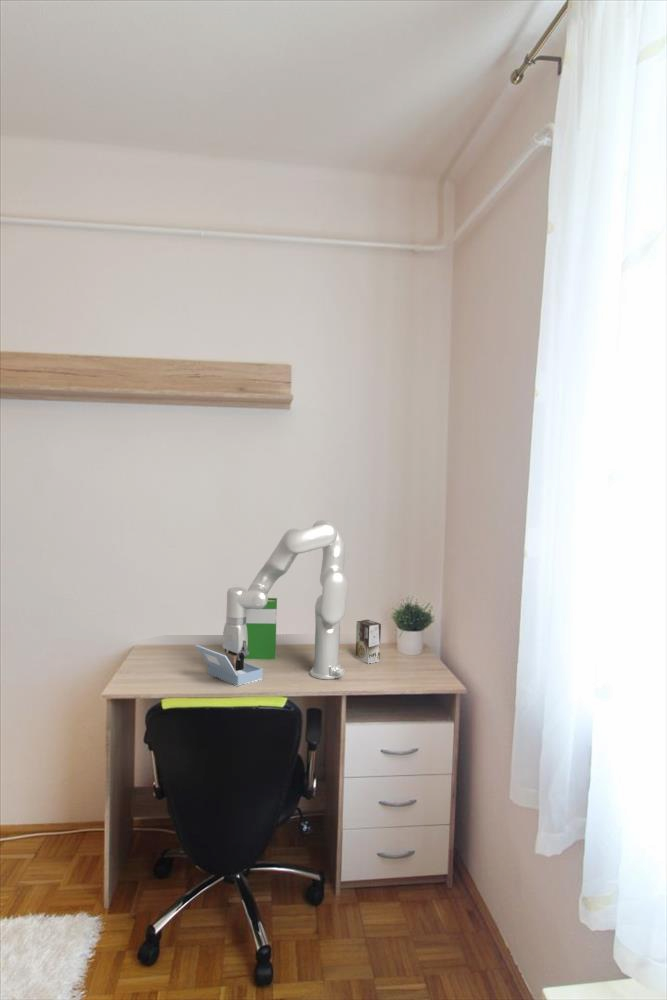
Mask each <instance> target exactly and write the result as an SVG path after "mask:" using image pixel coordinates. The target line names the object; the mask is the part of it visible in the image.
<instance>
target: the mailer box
mask: <svg viewBox="0 0 667 1000" xmlns="http://www.w3.org/2000/svg"><path fill="white" fill-rule="evenodd" d="M236 673H237V674H238V676H235V675H233V674H230V673H228V672H225V671H223V670H220V669H218V668H215V667H213V666H210V665H208V664H207V675H208V674H209V675H208V676H211V675H212V676H211V677H213V676H214V677H213V678H215V677H217V678H216V679H218V678H219V679H218V680H220V679H222V680H221V681H223V680H225V681H227V682H226V683H228V682H230V683H232V684H235V685H237V686H238V687H240V686H239V685H242V684H245V685H247V684H246V683H248V684H251V683H250V682H252V683H255V682H258V680H259V681H263V680H264V669H263V668H262V667H259V666H257V665H254V664H251V663H248V662H246V661H244V669H243V670H239V671H236ZM225 681H224V682H225ZM254 681H255V682H254ZM230 683H229V684H230ZM232 684H231V685H232ZM235 685H234V686H235ZM237 686H236V687H237ZM242 686H243V685H242Z"/></svg>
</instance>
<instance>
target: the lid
mask: <svg viewBox="0 0 667 1000" xmlns="http://www.w3.org/2000/svg"><path fill="white" fill-rule="evenodd" d="M195 648H196V649H197V651H198V652H199V654H200V655H201V657H202V658H203V660H204V662H205V663H206V665H207V666H208V665H210V666H213V667H215V668H218V669H220V670H223V671H225V672H228V673H230V674H233V675H235V676H238V674H237V673H236V671H235V669H234V668H233V666H232V665H231V663H230V661H229V660H228V658H227V656H226V654H222V653H220V652H217V651H214V650H212V649H210V648H207V647H204V646H202V645H199V644H195Z"/></svg>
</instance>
